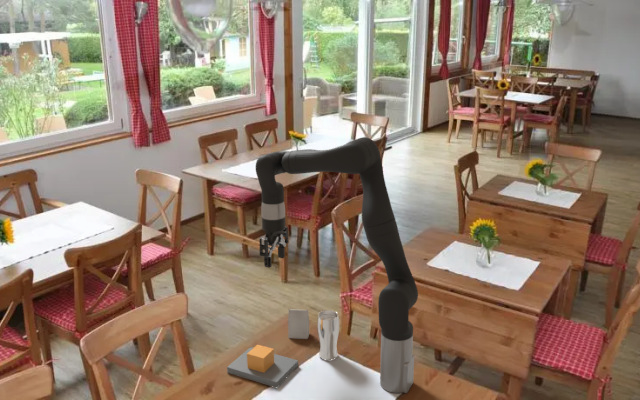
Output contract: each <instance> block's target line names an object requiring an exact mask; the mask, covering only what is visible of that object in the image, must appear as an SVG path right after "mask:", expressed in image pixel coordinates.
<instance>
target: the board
mask: <svg viewBox="0 0 640 400" xmlns="http://www.w3.org/2000/svg"><path fill="white" fill-rule="evenodd" d="M253 348H254V347H249V348H248V349H246V350H245V351H244V352H243V353H241V355H240V356H238V357H237V358H235V360H234V361H232V362H231V363H230V364H229V365H228V366H227V367H226V369H227V374H230V375H233V376H237V377H240V378H243V379H246V380H250V381H254V382H256V383H259V384H263V385H267V386H269V387H272V386H273V387H272V388H275V387H277V388H279V386H281V384H282V383H283V382H285V380H287V378H288V377H289V376H290V375H292V373H293V372H294V371H295V370H296V369H297V368H298V367H299V360H298V359H294V358H290V357H287V356H284V355H280V354H276V353H274V364H273V365H272V366H271V367H270V368H269V369H267V370H266V371H265V372H264V373H263V372H260V371H257V370H253V369H250V368H248V365H247V353H248V352H249V351H251V350H252V349H253ZM286 377H287V378H286Z"/></svg>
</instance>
